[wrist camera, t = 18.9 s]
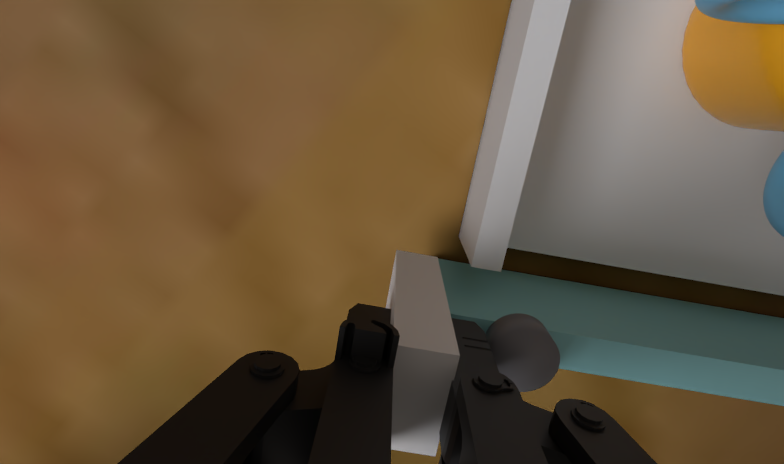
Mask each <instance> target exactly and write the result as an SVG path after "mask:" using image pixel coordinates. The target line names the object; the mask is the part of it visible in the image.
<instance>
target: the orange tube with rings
mask: <svg viewBox="0 0 784 464" xmlns="http://www.w3.org/2000/svg"><path fill="white" fill-rule="evenodd" d="M695 4H696V6H695V7H694V9H693V11H692V13H691V15H690V17H689V21H688V24H687V27H686V29H685V32H684V40H683V46H682V68H683V71H684V75H685V80H686V83H687V85H688V87H689V89H690V91H691V93H692V95H693V97H694V98H695V100H696V101H697V102H698V103H699V104H700V106H701V107H702V108H703V109H704V110H706V111H707V112H708V113H709V114H710V115H712V116H713V117H715V118H716V119H718V120H720V121H722V122H724V123H726V124H729V125H732V126H735V127H740V128H747V129H756V130H768V131H780V132H784V0H695ZM763 206H764V211H765V214H766V217H767V219H768V221H769V222H770V224H771V225H772V227H773V228H774V229H775V230H776V231H777V232H778V233H779V234H780V235H782V236H783V237H784V150H783V151H782V153H781V154H780V155H779V157H778V158H777V160H776V161H775V163H774V165H773V166H772V168H771V170H770V172H769V175H768V177H767V180H766V183H765V187H764V192H763Z"/></svg>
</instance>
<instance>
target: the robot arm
mask: <svg viewBox="0 0 784 464" xmlns="http://www.w3.org/2000/svg"><path fill="white" fill-rule="evenodd" d="M439 439H440V444H441V457H440V461H439V464H657V463H656V462H655V461H654V460H653V459H652V458H651V457H650V456H649V455H648V454H647V453H646V452H645V451H644V450H643V449H642V448H641V447H640V446H639V445H638V443H637V442H636V441H635V440H634V439H633V438H632V437H631V436H630V435H629V434H628V433H627V432H626V431H625V430H624V429H623V428H622V427H621V426H620V425H619V424H618V423H617V422H616V421H615V420H614V419H613V418H612V417H611V416H610V415H609V414H607V413H606V412H605V411H604V410H602V409H600V408H598V407H596V406H595V405H594V404H591V403H589V402H586V401H583V400H576V399H564V400H560V401H559V402H558V403H557V404H556V406H555V409H554V412H553V413H552V412H550V411H547V410H544V409H542V408H539V407H536V406H533V405H531V404H529V403H527V402H524V401H523V400H522V397H521V395H520V392H519V390H518V388H517V387H516V385H515V384H514V382H513V381H512V380H510V379H509V378H508V377H507V376H505V375H503V374H501V373H499V370H498V368H497V365H496V362H495V359H494V356H493V354H492V351H491V348H490V345H489V343H488V340H487V337H486V334H485V331H484V330H483V329H482V328H481V327H479V326H478V325H477V324H476V323H475V322H473V321H467V320H461V319H455V318H451V314H450V310H449V305H448V301H447V297H446V292H445V288H444V283H443V279H442V275H441V270H440V266H439V261H438V257H434V256H428V255H423V254H417V253H411V252H405V251H400V250H396V256H395V261H394V266H393V272H392V277H391V282H390V288H389V293H388V298H387V304H386V308H382V307H377V306H371V305H365V304H359V303H358V304H357V305H355V306H354V307H353V308H351V309H350V310H349V313H348V317H347V320H345V321H343V323H342V324H341V325H340V329H339V336H338V342H337V348H336V355H335V360H334V362H333V363H331V364H330V365H328V366H326V367H323V368H320V369H315V370H303V371H299V366H298V363H297V362H296V361H295V360H294V359H293V358H292V357H290V356H288V355H286V354H284V353H280V352H275V351H257V352H253V353H249V354H247V355H245V356H243V357H241V358H240V359H238V360H237V361H236V362H235V363H234V364H232V365H231V366H230V367H229V368H228V369H227V370H226V371H224V372H223V373H222V374H221V375H220V376H219V377H217V378H216V379H215V380H214V381H213V382H212V383H210V384H209V385H208V386H207V387H206V388H205V389H203V390H202V391H201V392H200V393H199V394H198V395H197V396H195V397H194V398H193V399H192V400H191V401H190V402H188V403H187V404H186V405H185V406H184V407H183V408H181V409H180V410H179V411H178V412H177V413H176V414H175V415H173V416H172V417H171V418H170V419H169V420H168V421H166V422H165V423H164V424H163V425H162V426H161V427H159V428H158V429H157V430H156V431H155V432H154V433H152V434H151V435H150V436H149V437H148V438H147V439H146V440H144V441H143V442H142V443H141V444H140V445H139V446H137V447H136V448H135V449H134V450H133V451H132V452H130V453H129V454H128V455H127V456H126V457H125V458H124V459H122V460H121V461H120V462H119V463H118V464H391V449H392V450H398V451H404V452H410V453H416V454H423V455H429V456H436V452H437V448H438V443H439Z"/></svg>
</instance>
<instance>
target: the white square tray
mask: <svg viewBox="0 0 784 464" xmlns="http://www.w3.org/2000/svg"><path fill="white" fill-rule="evenodd" d="M695 6H696V4H695V0H512V2H511V6H510V10H509V15H508V19H507V24H506V28H505V33H504V37H503V42H502V46H501V50H500V55H499V59H498V64H497V68H496V73H495V77H494V82H493V86H492V90H491V95H490V99H489V104H488V108H487V113H486V117H485V122H484V126H483V130H482V135H481V139H480V144H479V148H478V153H477V157H476V161H475V166H474V170H473V175H472V179H471V184H470V188H469V193H468V197H467V201H466V206H465V210H464V215H463V219H462V224H461V228H460V233H459V239H460V241H461V243H462V246H463V248H464V251H465V253H466V256H467V258H468V260H469V263H470V265H471V267H475V268H481V269H487V270H493V271H498V272H501V270H502V266H503V262H504V258H505V254H506V250H507V248H512V249H518V250H523V251H529V252H535V253H541V254H546V255H552V256H558V257H564V258H569V259H575V260H581V261H586V262H592V263H598V264H604V265H609V266H615V267H621V268H627V269H632V270H638V271H644V272H650V273H655V274H661V275H667V276H673V277H678V278H684V279H690V280H695V281H701V282H707V283H713V284H718V285H724V286H730V287H736V288H741V289H747V290H753V291H759V292H764V293H770V294H776V295H781V296H784V237H783V236H782V235H780V234H779V233H778V232H777V231H776V230H775V229H774V228H773V227H772V225H771V224H770V222H769V221H768V219H767V217H766V214H765V211H764V206H763V192H764V187H765V183H766V180H767V177H768V175H769V172H770V170H771V168H772V166H773V165H774V163H775V161H776V160H777V158H778V157H779V155H780V154H781V153H782V151H783V150H784V132H780V131H768V130H756V129H747V128H740V127H735V126H732V125H729V124H726V123H724V122H722V121H720V120H718V119H716V118H715V117H713V116H712V115H710V114H709V113H708V112H707V111H706V110H704V109H703V108H702V107H701V106H700V104H699V103H698V102H697V101H696V100H695V98H694V97H693V95H692V93H691V91H690V89H689V87H688V85H687V83H686V80H685V75H684V71H683V68H682V46H683V40H684V32H685V29H686V27H687V24H688V21H689V17H690V15H691V13H692V11H693V9H694V7H695Z"/></svg>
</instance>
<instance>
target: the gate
mask: <svg viewBox="0 0 784 464" xmlns="http://www.w3.org/2000/svg"><path fill="white" fill-rule="evenodd" d="M438 261H439V266H440V270H441V275H442V279H443V283H444V288H445V292H446V297H447V301H448V305H449V310H450V314H451V318H455V319H461V320H467V321H473V322H475V323H476V324H477V325H478V326H479V327H481V328H482V329H483V330H484V331H485V334H486V337H487V340H488V343H489V345H490V348H491V351H492V354H493V356H494V359H495V362H496V365H497V368H498V370H499V373H501V374H503V375H505V376H507V377H508V378H509V379H510V380H512V381H513V382H514V384H515V385H516V387H517V388H518V390H519V392H527V391H532V390H536V389H538V388H540V387H542V386H544V385H546V384H547V383H548V382H549V381H550V380H551V379H552V378H553V377H554V376H555V374H556V372H557V371H558V368H559V369H565V370H571V371H577V372H583V373H589V374H595V375H601V376H607V377H613V378H619V379H625V380H631V381H637V382H643V383H649V384H655V385H661V386H667V387H673V388H679V389H685V390H691V391H697V392H703V393H709V394H715V395H721V396H727V397H733V398H739V399H744V400H750V401H756V402H762V403H768V404H774V405H780V406H784V318H779V317H774V316H768V315H762V314H756V313H750V312H745V311H739V310H733V309H727V308H722V307H716V306H710V305H704V304H698V303H693V302H687V301H681V300H675V299H669V298H664V297H658V296H652V295H646V294H641V293H635V292H629V291H623V290H617V289H612V288H606V287H600V286H594V285H589V284H583V283H577V282H571V281H565V280H560V279H554V278H548V277H542V276H537V275H531V274H525V273H519V272H513V271H508V270H501V272H498V271H493V270H487V269H481V268H475V267H471V265H470V264H467V263H461V262H456V261H450V260H444V259H438Z"/></svg>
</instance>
